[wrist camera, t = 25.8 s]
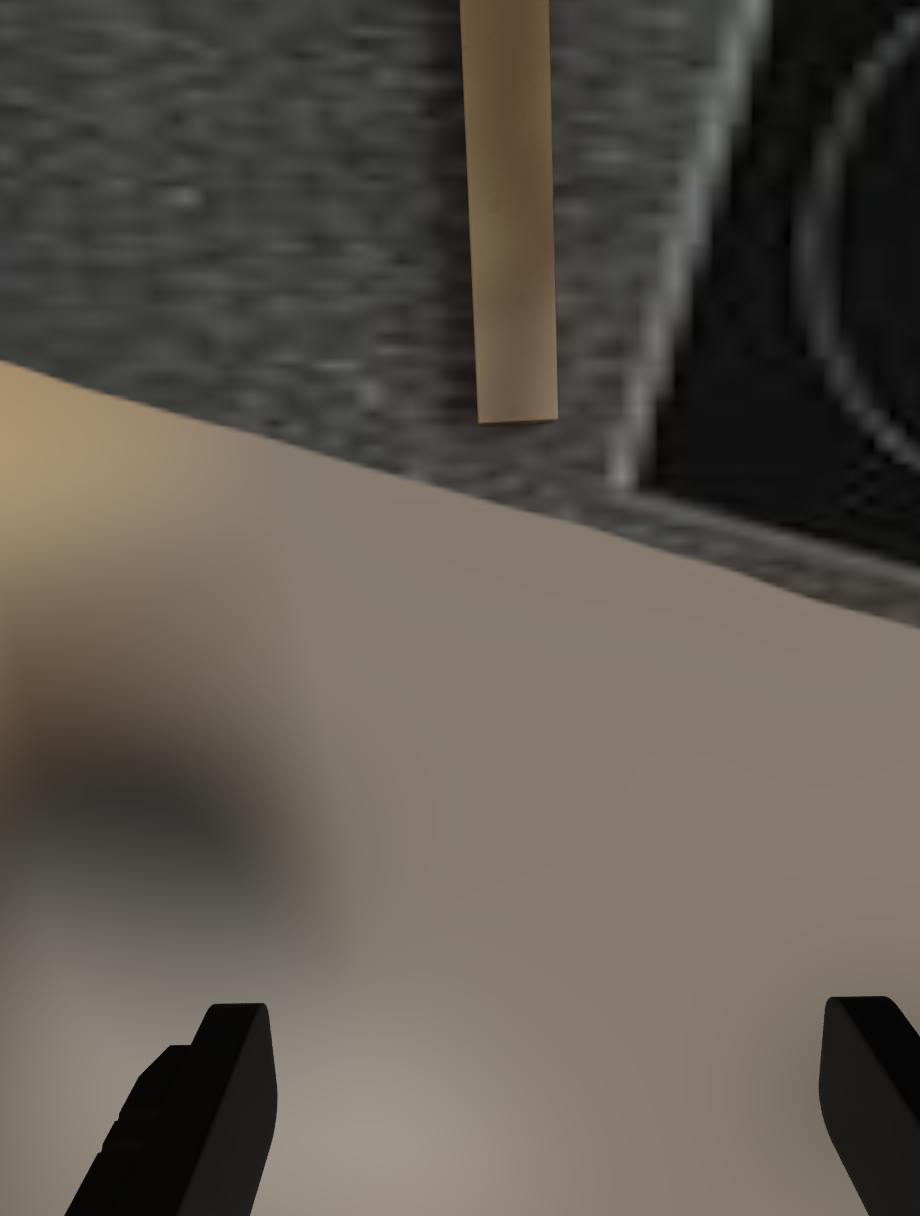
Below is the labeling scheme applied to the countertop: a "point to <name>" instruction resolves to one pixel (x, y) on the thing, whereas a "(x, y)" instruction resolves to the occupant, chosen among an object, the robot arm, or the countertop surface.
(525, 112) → the beech bar
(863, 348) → the countertop surface
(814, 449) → the countertop surface
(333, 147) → the countertop surface
